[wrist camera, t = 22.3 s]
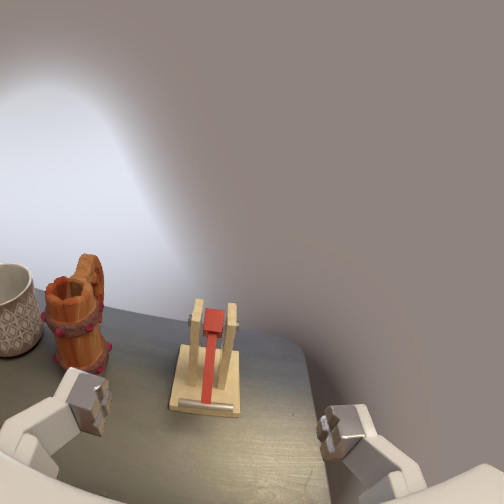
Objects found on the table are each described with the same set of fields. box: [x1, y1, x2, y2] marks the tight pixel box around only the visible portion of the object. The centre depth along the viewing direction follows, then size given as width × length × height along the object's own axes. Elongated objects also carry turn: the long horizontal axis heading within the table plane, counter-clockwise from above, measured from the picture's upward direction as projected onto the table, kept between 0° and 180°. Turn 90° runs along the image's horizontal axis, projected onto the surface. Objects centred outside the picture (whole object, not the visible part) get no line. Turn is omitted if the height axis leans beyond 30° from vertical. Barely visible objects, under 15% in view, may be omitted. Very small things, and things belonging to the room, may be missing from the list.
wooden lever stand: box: [169, 299, 240, 418], centre depth 36 cm, size 12×9×13 cm
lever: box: [178, 308, 233, 413], centre depth 32 cm, size 12×6×2 cm
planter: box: [0, 263, 43, 357], centre depth 33 cm, size 13×13×10 cm
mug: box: [40, 254, 112, 376], centre depth 34 cm, size 15×8×15 cm, turn 5°
